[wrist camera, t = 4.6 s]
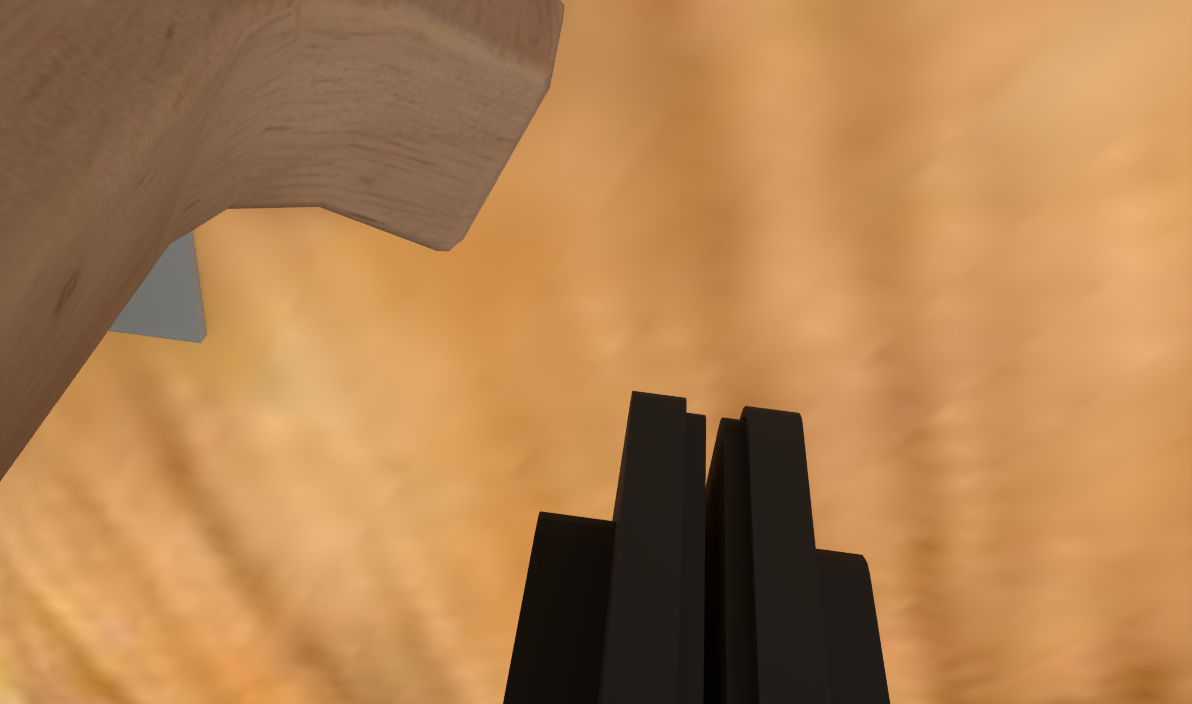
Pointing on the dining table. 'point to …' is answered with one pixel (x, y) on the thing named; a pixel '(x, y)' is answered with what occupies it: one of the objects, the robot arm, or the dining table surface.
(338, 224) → the dining table surface
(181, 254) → the mat
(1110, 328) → the dining table surface
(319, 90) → the wooden block
